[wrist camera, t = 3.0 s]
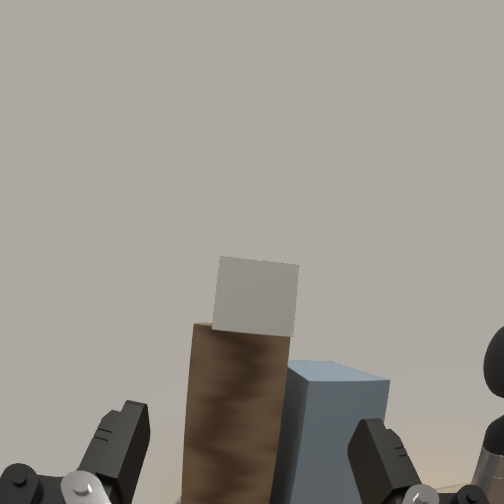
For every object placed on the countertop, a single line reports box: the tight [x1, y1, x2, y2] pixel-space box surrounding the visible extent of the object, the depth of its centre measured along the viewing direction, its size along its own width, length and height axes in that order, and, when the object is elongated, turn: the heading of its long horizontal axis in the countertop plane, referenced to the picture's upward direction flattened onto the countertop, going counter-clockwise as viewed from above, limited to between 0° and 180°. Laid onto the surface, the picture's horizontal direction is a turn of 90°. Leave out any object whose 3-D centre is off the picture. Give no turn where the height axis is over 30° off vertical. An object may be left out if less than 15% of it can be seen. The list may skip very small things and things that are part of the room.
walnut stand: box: [181, 323, 290, 504], centre depth 30 cm, size 8×17×32 cm, turn 5°
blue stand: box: [269, 360, 390, 504], centre depth 30 cm, size 8×17×28 cm, turn 5°
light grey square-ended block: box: [212, 256, 299, 337], centre depth 30 cm, size 4×26×4 cm, turn 5°
